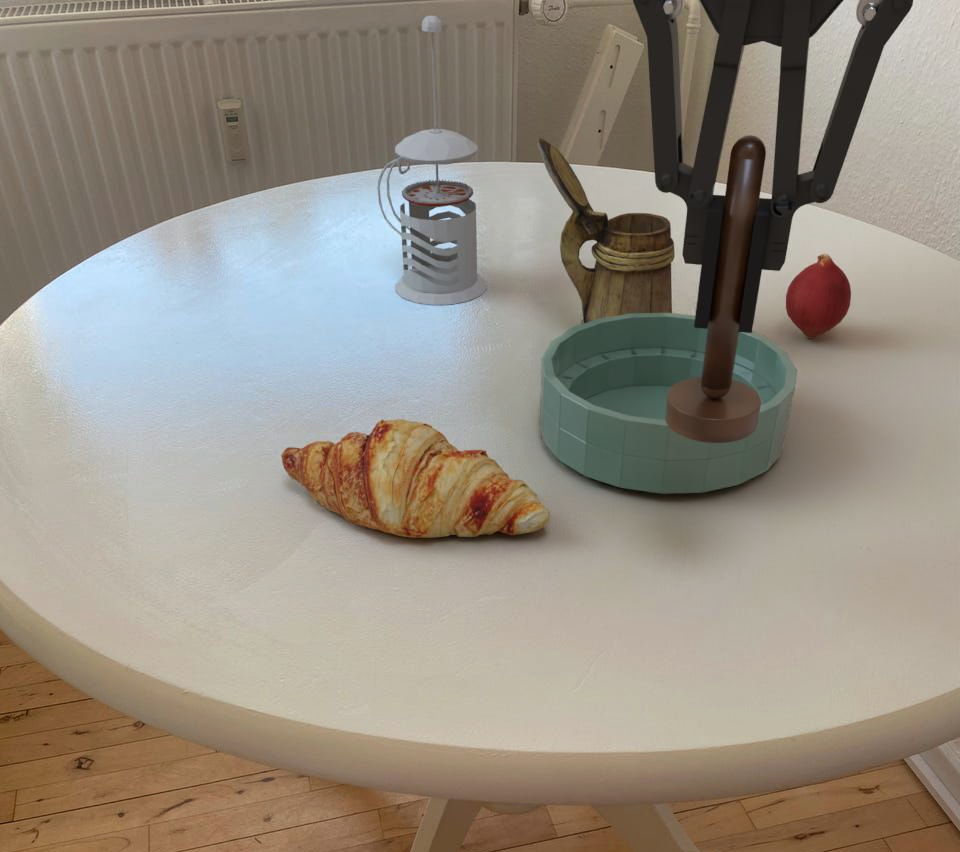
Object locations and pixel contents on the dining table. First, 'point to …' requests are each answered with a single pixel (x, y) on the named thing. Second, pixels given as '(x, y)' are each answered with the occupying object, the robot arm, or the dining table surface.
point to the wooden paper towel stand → (725, 317)
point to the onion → (818, 297)
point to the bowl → (654, 404)
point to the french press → (436, 216)
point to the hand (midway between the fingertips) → (724, 319)
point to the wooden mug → (612, 251)
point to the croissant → (414, 484)
